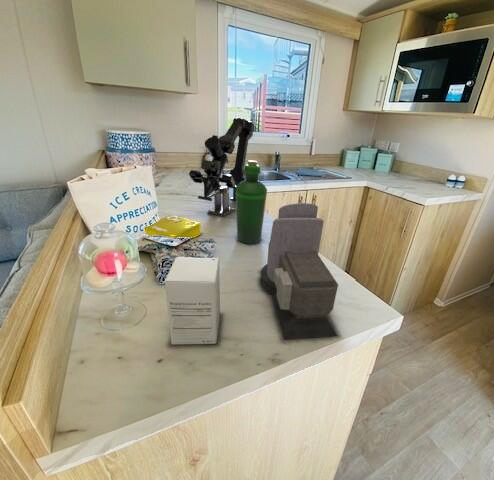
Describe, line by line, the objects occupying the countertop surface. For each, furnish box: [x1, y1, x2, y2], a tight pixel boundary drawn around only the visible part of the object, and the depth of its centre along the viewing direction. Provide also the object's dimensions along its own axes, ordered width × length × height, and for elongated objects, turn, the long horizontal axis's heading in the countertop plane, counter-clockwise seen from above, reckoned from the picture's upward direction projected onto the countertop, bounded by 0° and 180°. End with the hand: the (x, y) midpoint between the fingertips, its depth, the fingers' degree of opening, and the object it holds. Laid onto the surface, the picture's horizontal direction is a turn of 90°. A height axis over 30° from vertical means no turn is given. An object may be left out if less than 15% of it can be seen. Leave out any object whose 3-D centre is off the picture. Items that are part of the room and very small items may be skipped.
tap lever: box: [197, 186, 224, 202], centre depth 116 cm, size 15×6×2 cm, turn 159°
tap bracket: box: [207, 184, 236, 217], centre depth 123 cm, size 10×8×12 cm
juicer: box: [260, 202, 339, 341], centre depth 66 cm, size 30×16×24 cm, turn 10°
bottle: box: [235, 159, 268, 245], centre depth 95 cm, size 11×11×28 cm
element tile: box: [144, 214, 202, 239], centre depth 97 cm, size 15×15×5 cm
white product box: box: [164, 256, 221, 345], centre depth 55 cm, size 9×9×15 cm
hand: (205, 196), depth 110 cm, fingers closed, pressing on tap lever
